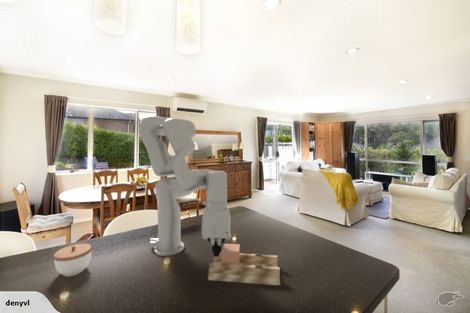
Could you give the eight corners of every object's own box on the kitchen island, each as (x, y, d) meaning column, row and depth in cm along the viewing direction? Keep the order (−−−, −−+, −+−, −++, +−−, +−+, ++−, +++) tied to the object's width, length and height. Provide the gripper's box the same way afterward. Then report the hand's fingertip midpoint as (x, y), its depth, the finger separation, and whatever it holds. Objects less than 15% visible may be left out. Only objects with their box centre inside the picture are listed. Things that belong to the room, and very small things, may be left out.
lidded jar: (55, 269, 76) (54, 244, 75) (91, 260, 82) (90, 236, 82) (52, 285, 67) (52, 256, 67) (92, 273, 74) (92, 247, 73)
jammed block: (221, 270, 73) (221, 251, 72) (223, 261, 79) (224, 243, 78) (238, 272, 72) (238, 252, 72) (239, 262, 78) (239, 244, 78)
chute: (208, 279, 70) (208, 266, 70) (215, 260, 82) (215, 249, 82) (280, 285, 68) (280, 271, 67) (276, 265, 80) (276, 252, 79)
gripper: (193, 207, 72) (193, 258, 73) (236, 208, 70) (235, 261, 71) (199, 201, 80) (199, 248, 80) (238, 203, 78) (238, 251, 79)
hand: (216, 254), depth 76 cm, fingers closed
